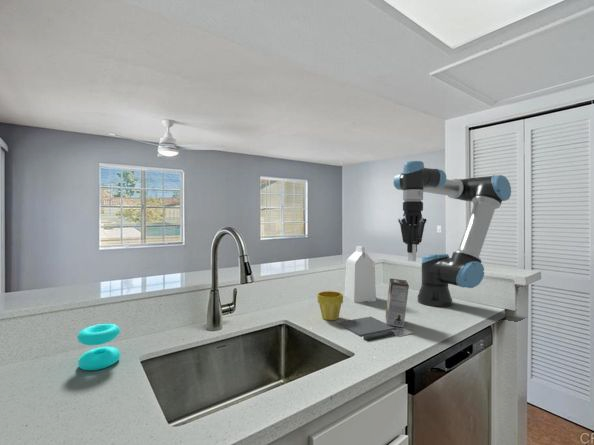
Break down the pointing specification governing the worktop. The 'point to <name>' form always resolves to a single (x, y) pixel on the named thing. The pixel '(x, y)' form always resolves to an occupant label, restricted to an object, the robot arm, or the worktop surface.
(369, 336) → the turner
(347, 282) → the milk
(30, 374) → the worktop surface
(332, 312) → the plant pot
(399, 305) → the coffee box
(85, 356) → the donuts
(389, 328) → the mat
